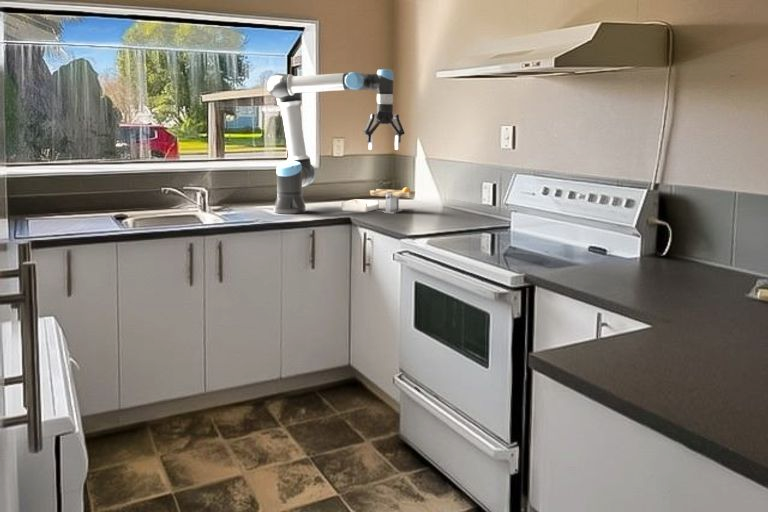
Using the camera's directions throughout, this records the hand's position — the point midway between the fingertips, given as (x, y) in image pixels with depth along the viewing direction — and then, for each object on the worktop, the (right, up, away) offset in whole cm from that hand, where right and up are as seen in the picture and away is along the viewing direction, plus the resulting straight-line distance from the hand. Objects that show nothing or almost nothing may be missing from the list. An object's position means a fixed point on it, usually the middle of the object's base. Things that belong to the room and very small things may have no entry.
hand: (383, 149), depth 350 cm
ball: (+10, -19, +1) cm, 22 cm away
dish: (-11, -27, +12) cm, 32 cm away
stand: (+4, -29, +5) cm, 30 cm away
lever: (+5, -21, +7) cm, 23 cm away
